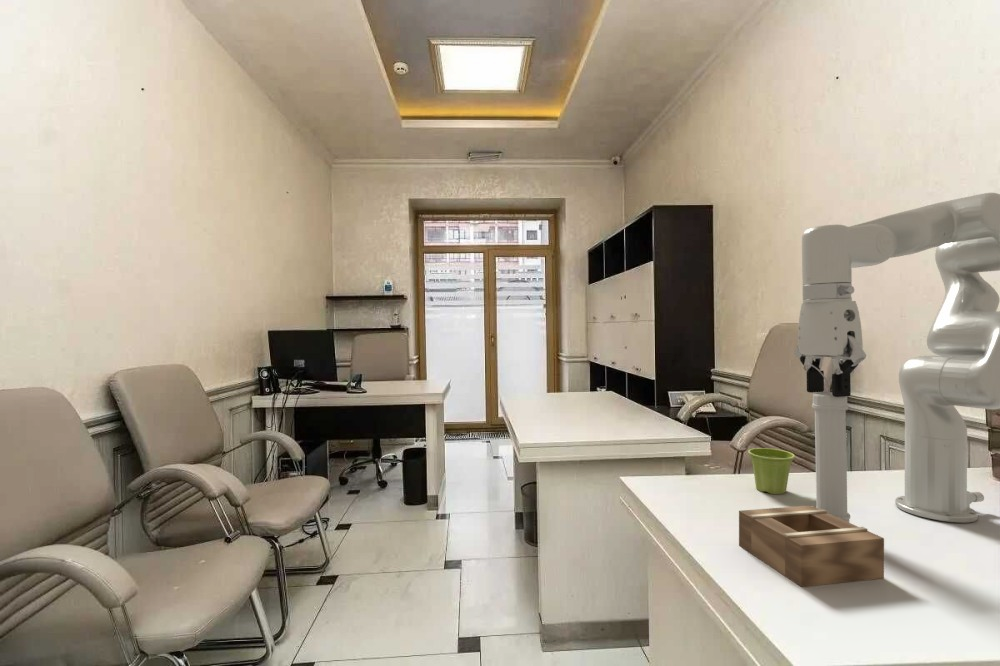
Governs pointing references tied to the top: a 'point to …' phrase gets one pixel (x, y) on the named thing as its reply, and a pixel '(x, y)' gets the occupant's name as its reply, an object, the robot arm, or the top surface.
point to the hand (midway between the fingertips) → (828, 393)
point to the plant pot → (771, 469)
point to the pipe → (831, 453)
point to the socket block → (811, 545)
